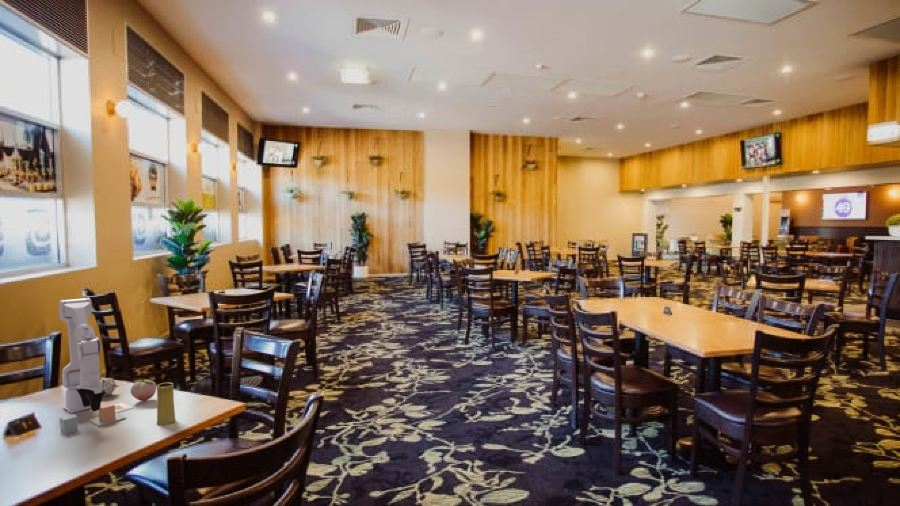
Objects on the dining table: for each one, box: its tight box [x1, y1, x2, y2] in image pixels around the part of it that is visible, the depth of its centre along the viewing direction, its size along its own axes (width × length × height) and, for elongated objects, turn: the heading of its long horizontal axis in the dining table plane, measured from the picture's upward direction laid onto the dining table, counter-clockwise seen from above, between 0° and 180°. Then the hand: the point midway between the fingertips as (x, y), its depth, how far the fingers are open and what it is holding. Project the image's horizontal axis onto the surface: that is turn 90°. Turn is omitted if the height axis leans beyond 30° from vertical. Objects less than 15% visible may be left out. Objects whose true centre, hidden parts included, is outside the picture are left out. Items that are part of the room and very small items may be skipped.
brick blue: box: [59, 413, 79, 435], centre depth 178 cm, size 4×4×5 cm
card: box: [113, 402, 133, 413], centre depth 199 cm, size 10×7×1 cm
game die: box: [100, 375, 119, 397], centre depth 213 cm, size 9×8×10 cm
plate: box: [89, 412, 127, 427], centre depth 188 cm, size 9×9×1 cm
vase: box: [156, 382, 176, 426], centre depth 185 cm, size 6×6×14 cm
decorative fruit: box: [130, 377, 157, 402], centre depth 207 cm, size 9×8×10 cm
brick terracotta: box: [98, 402, 115, 421], centre depth 188 cm, size 4×4×5 cm
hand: (91, 408), depth 183 cm, fingers open, 7 cm apart
